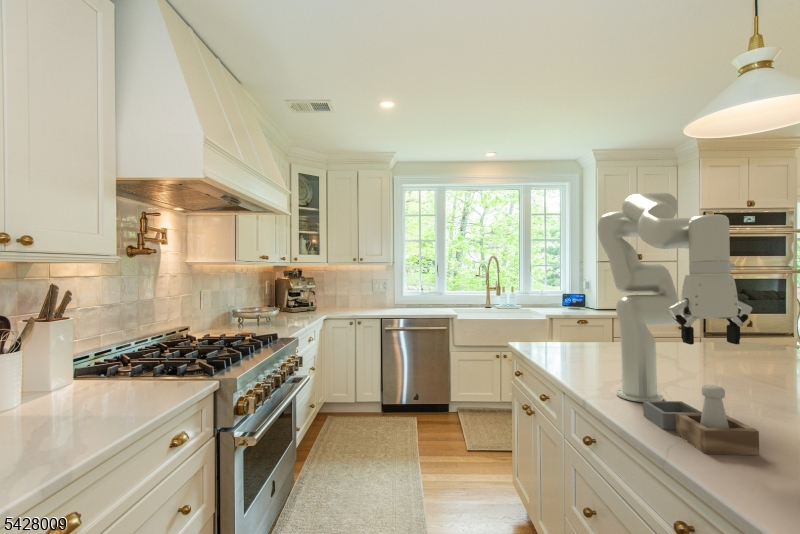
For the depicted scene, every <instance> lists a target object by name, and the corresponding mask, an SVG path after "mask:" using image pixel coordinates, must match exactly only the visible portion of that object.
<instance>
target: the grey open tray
mask: <svg viewBox="0 0 800 534" xmlns="http://www.w3.org/2000/svg"><path fill="white" fill-rule="evenodd" d="M642 404H643V417H644V416H645V419H647V418H648V419H647V420H649V421H650V420H651V421H650V422H652V423H653V422H654V423H655V426H657V425H658V426H657V427H659V428H660V427H661V428H660V429H662V430H663V429H676V413H697V414H702V411H700V410H698V409H697V408H695V407H693V406H691V405H689V404H687V403H685V402H683V401H679V400H677V401H675V400H674V401H671V400H669V401H667V400H666V401H664V400H663V401H643V402H642ZM654 423H653V424H654Z"/></svg>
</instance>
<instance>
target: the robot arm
mask: <svg viewBox="0 0 800 534" xmlns="http://www.w3.org/2000/svg"><path fill="white" fill-rule="evenodd" d="M678 211H679V203H678V200H677V198H676V197H675V196H674V195H673V194H671V193H669V192H644V193H634V194H632V195H629V196H628V197H627V198H625V199H624V201H623V202H622V206H621V211H613V212H608V213H605V214H603V215H601V217H600V218H599V219H598V223H597V235H598V239H599V241H600V242H599V243H600V245H601V246H602V248H603V250H604V252H605V253H606V256H607V259H608V261H609V262H608V263H609V266H610V269H611V273H612V277H613V282H614V285H615V287H616V290H617V291H619V292H621V293H624V294H629V295H625V296H622V297H621V298H619V299H618V301H617V302H616V306H615V308H616V309H615V310H616V315H617V316H616V317H617V319H618V320H617V321H618V324H619V325H618V326H619V333H620V334H619V337H620V361H621V362H620V363H621V365H620V366H621V381H620V382H621V387H620V388H618V389H617V390H616V396H618V397H620V399H624V400H627V401H631V402H638V403H643V401H664V395H663V394H662V393H660V392H658V368H657V367H658V366H657V343H656V338H655V336H654V335H653V333H652V332H651V331H650V329H649V328H648V327H651V326H672V325H676V324H677V323H678V325H680V330H681V332H680V333H681V335H680V336H681V340H682V342H683V343H684V344H686V345H687V344H688V345H694V343H695V340H694V339H695V335H694V333H695V332H694V331H695V330H694V327H693V326H692V325H693V324H694V322H695V321H697V319H700V320H701V319H702V320H703V319H705V320H706V319H707V320H710V319H712V320H715V319H716V320H717V319H720V320H721V319H724V320H725V321H726V323H728V324H727V325H726V342H727V343H730V344H733V345H740V344H741V343H740V341H741V327H743V326H744V323H745V322H746V321H748V319H749V316H750V315H751V312H752V311H753V307H752V306H750V305H748V304H746V303H744V302H742V301H740V300H739V298H738V291H737V286H736V280H735V277H734V275H733V274H731V270H735V269H736V264H735V263H731V256H730V255H731V254H730V253H731V252H730V251H731V249H730V246H731V245H730V243H731V242H730V220H729V219H730V218H729V217H727V215H725V214H715V213H714V214H703V215H697V216H693V217H676V215H677V213H678ZM675 217H676V218H675ZM628 237H629V238H636V237H640V239H641V240H642V241H643V242H644V243H646V244H648V245H649V246H651V247H653V248H656V249H660V250H661V249H662V250H667V249H668V250H669V249H670V250H671V249H688V259H689V260H688V262H689V263H688V268H689V269H688V270H689V275H688V274H685V276H684V280H683V284H682V289H681V291H682V292H681V300H679V296H678V293H677V290H676V286H675V283H674V280H673V278H672V275H671V272H670V270H668V269H667V267H666V266H664V265H662V264H659V263H642V262H641V261H640V259H639V257H638V256H639V255H638V252H637V250H636V249H635V247H634V246H633V245H632V244H631V243H629V241H627V240H625V239H624V238H628ZM739 309H740V312H739ZM682 315H683V316H682Z"/></svg>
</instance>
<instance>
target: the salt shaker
mask: <svg viewBox="0 0 800 534" xmlns="http://www.w3.org/2000/svg"><path fill="white" fill-rule="evenodd" d="M701 394H702V396H703V397H704V399H703V406H702V411H701V412H702V416H701V421H700V424H701V425H703V426H705V427H707V428H729V425H728V421H727V417H726V415H727V413H726V410H725V406H724V402H723V399H725V398H726V391H725V389H724V388H723V387H722V386H719V385H715V384H705V385H702V386H701Z"/></svg>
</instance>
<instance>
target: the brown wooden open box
mask: <svg viewBox="0 0 800 534" xmlns="http://www.w3.org/2000/svg"><path fill="white" fill-rule="evenodd" d="M701 416H702V414H697V413H676V430H675V434H676V435H677V434H678V435H679V436H678V435H677V436H678V437H680V436H681V437H682V438H681V437H680V438H681V439H683V438H684V439H685V440H687V441H688V442H689V444H690V443H691V444H692V446H693V445H694V446H695V447H694V446H693V447H694V448H696V447H697V448H698V449H697V448H696V449H697V450H699V451H700V450H701V451H700V452H702V453H703V454H705V455H731V454H733V456H735V455H737V456H739V455H741V456H742V455H743V456H744V455H746V456H747V455H749V456H760V455H761V454H760V431H759V430H757V429H755V428H754V427H751V426H749V425H747V424H745V423H743V422H741V421H739V420H737V419H735V418H733V417H731V416H729V415H727V414H726V417H727V421H728V425H729V428H707V427H705V426H703V425H701V424H700V421H701ZM684 439H683V440H684ZM685 440H684V441H685ZM687 441H686V442H687ZM688 442H687V443H688ZM691 444H690V445H691Z"/></svg>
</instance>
